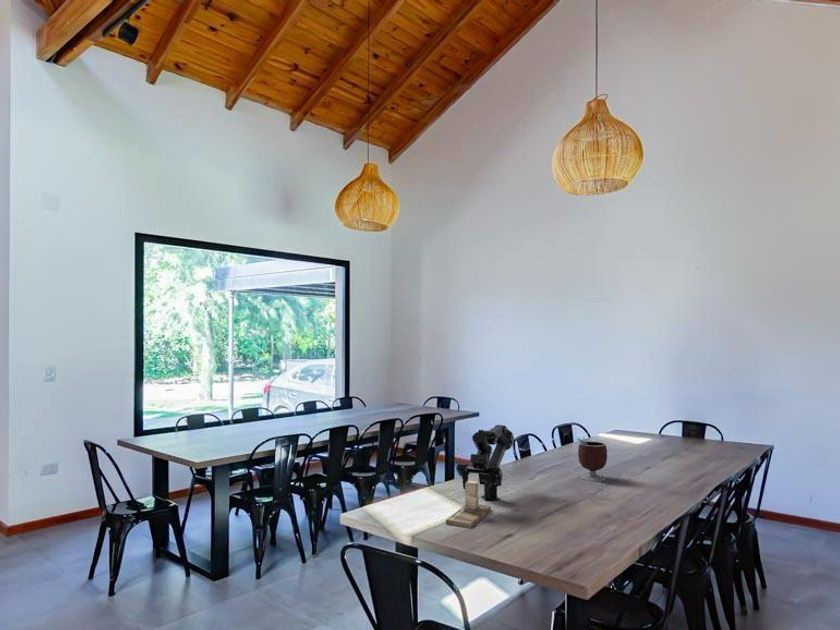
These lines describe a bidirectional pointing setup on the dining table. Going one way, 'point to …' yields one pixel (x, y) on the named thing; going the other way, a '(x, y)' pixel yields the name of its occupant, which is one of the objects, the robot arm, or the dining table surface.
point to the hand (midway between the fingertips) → (474, 489)
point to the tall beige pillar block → (471, 497)
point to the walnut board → (467, 516)
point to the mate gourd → (592, 458)
